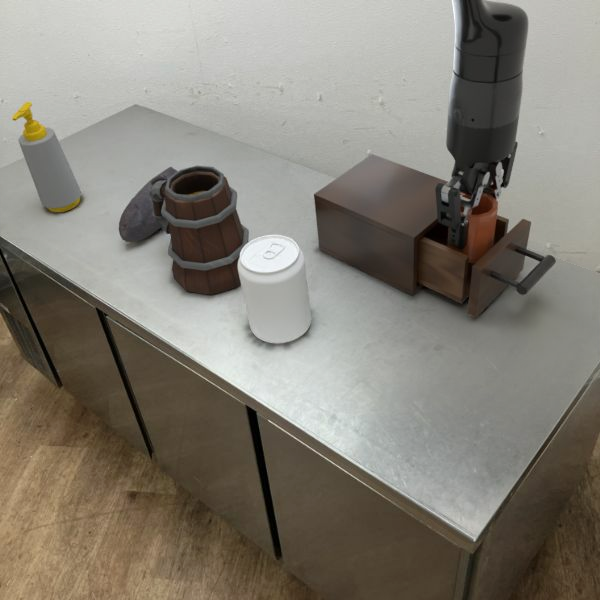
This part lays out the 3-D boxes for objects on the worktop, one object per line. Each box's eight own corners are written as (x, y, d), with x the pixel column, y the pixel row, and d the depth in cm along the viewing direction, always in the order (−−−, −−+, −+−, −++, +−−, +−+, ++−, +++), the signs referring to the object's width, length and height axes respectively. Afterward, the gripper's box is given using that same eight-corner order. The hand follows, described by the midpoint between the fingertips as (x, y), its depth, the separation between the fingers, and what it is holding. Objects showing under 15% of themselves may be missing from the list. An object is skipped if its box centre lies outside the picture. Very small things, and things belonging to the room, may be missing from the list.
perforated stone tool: (137, 255, 99) (125, 218, 94) (113, 246, 101) (99, 209, 97) (199, 204, 108) (190, 167, 103) (175, 196, 110) (165, 161, 105)
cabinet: (465, 248, 93) (471, 190, 86) (412, 296, 86) (414, 237, 80) (373, 208, 102) (371, 153, 95) (319, 249, 96) (313, 194, 89)
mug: (270, 256, 95) (255, 168, 85) (218, 306, 89) (195, 216, 78) (192, 227, 103) (170, 143, 93) (138, 271, 96) (108, 185, 86)
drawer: (557, 284, 84) (568, 235, 79) (511, 335, 78) (519, 286, 73) (425, 228, 95) (427, 183, 90) (376, 269, 90) (375, 223, 84)
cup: (500, 246, 83) (506, 200, 78) (476, 268, 80) (481, 223, 76) (462, 231, 86) (466, 186, 81) (438, 252, 83) (441, 207, 79)
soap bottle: (37, 215, 110) (-8, 118, 98) (54, 191, 115) (14, 96, 103) (74, 215, 109) (34, 117, 97) (90, 192, 114) (54, 95, 102)
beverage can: (238, 334, 84) (221, 263, 76) (272, 296, 89) (260, 225, 81) (290, 354, 81) (279, 282, 73) (323, 314, 85) (315, 242, 77)
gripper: (477, 146, 65) (465, 275, 76) (548, 91, 72) (527, 216, 83) (415, 127, 69) (412, 251, 80) (488, 76, 76) (476, 197, 87)
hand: (471, 233), depth 81 cm, fingers closed on cup, 5 cm apart
